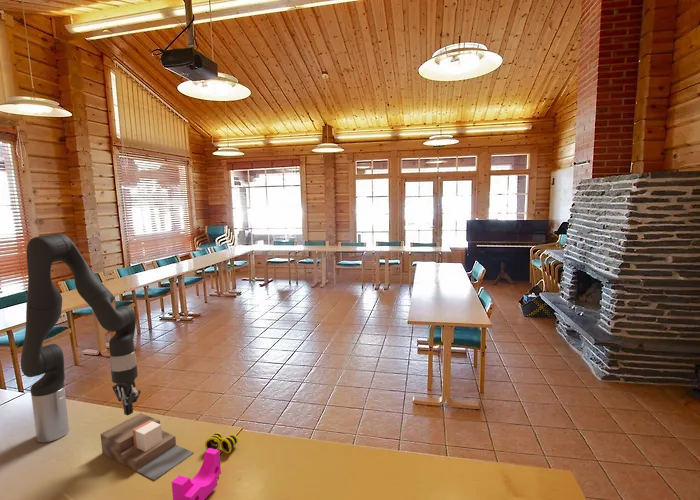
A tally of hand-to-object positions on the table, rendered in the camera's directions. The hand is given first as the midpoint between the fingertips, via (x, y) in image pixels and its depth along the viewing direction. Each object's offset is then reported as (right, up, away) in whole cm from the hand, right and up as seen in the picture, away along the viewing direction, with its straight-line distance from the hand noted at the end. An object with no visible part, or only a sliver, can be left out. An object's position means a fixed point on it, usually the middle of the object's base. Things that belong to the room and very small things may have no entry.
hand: (128, 413), depth 125 cm
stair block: (+8, -12, -3) cm, 15 cm away
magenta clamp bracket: (+33, -14, -19) cm, 41 cm away
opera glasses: (+33, -12, -1) cm, 35 cm away
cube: (+6, -6, -2) cm, 8 cm away
